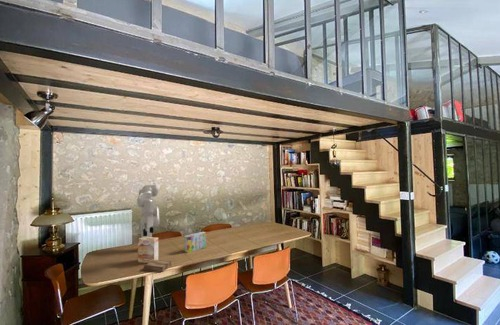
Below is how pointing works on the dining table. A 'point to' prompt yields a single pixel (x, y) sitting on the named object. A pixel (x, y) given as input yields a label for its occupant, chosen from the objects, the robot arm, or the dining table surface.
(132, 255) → the dining table surface
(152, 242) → the coffeecake box
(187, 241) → the snack box
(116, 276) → the dining table surface
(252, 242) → the dining table surface
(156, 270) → the block
